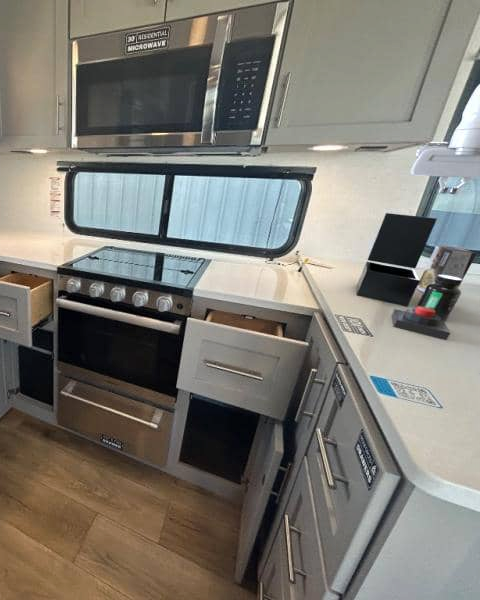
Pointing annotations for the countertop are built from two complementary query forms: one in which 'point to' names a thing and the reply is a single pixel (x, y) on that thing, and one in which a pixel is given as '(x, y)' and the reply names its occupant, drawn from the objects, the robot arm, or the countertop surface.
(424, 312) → the button
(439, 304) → the supplement bottle
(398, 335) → the countertop surface
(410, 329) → the control block
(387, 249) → the bin lid
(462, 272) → the coffee box
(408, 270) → the bin
